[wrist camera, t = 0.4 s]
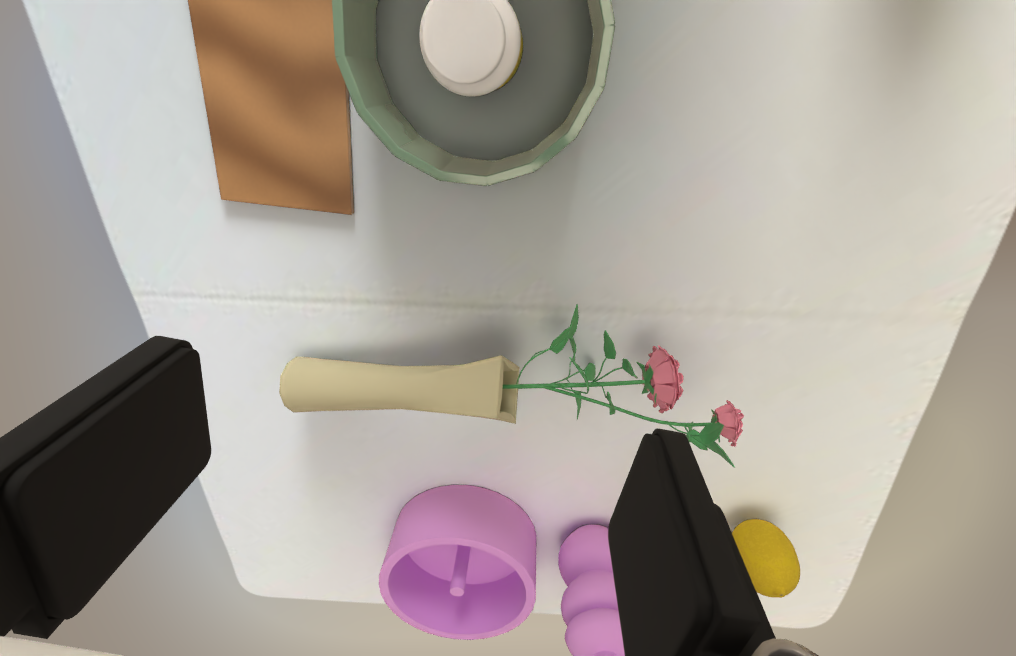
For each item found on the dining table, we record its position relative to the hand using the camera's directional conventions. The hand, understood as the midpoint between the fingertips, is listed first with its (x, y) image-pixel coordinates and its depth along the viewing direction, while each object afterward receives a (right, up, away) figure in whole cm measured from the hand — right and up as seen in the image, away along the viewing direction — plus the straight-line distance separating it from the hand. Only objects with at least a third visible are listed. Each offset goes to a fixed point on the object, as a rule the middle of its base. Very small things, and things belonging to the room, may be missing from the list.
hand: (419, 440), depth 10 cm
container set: (+2, -20, +43) cm, 47 cm away
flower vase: (+1, 0, +32) cm, 32 cm away
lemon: (+26, -17, +40) cm, 50 cm away
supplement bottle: (0, +21, +22) cm, 30 cm away
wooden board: (-14, +21, +23) cm, 34 cm away
